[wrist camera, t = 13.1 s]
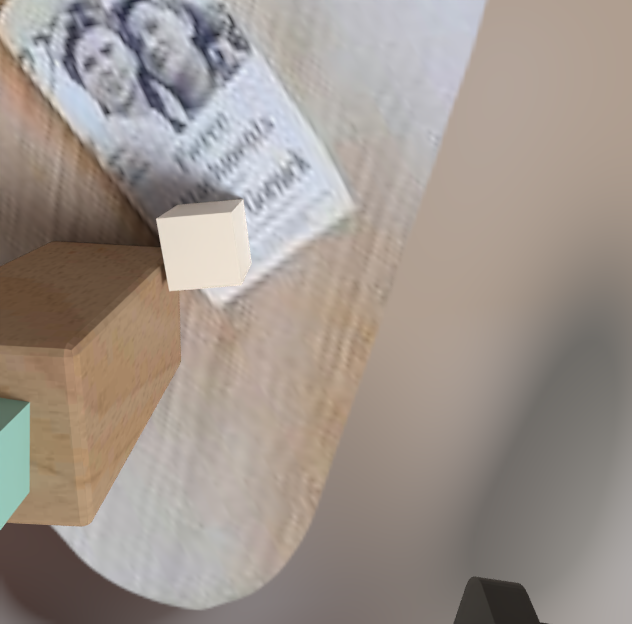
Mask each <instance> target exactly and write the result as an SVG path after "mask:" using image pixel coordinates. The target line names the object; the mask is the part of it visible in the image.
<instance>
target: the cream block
mask: <svg viewBox="0 0 632 624" xmlns="http://www.w3.org/2000/svg"><path fill="white" fill-rule="evenodd" d="M156 221H157V227H158V232H159V238H160V243H161V249H162V254H163V260H164V265H165V271H166V276H167V282H168V287H169V291H178V290H190V289H202V288H214V287H226V286H238V285H242V283H243V281H244V279H245V277H246V274H247V272H248V270H249V268H250V266H251V264H252V262H251V254H250V247H249V239H248V231H247V224H246V216H245V208H244V201H243V199H237V200H226V201H214V202H203V203H192V204H181V205H176V206H175V207H173V208H172V209H170V210H169V211H167V212H166V213H164V214H163V215H161V216H159V217H158V218H156Z"/></svg>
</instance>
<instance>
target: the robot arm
mask: <svg viewBox="0 0 632 624" xmlns="http://www.w3.org/2000/svg"><path fill="white" fill-rule="evenodd" d="M454 624H547V623H540V622H539V619H538V617H537V615H536V612H535V610H534V608H533V605H532V603H531V601H530V598H529V596H528V594H527V592H526V590H525V588H524V587H523V586H522V585H521V584H519V583H515V582H508V581H501V580H495V579H488V578H481V577H471V578H470V579H469V581H468V583H467V585H466V588H465V591H464V594H463V597H462V600H461V603H460V606H459V609H458V612H457V615H456V618H455V621H454Z"/></svg>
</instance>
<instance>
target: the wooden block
mask: <svg viewBox="0 0 632 624" xmlns="http://www.w3.org/2000/svg"><path fill="white" fill-rule="evenodd" d="M180 362H181V346H180V306H179V290H178V291H169V287H168V282H167V276H166V271H165V265H164V260H163V254H162V249H161V247H147V246H129V245H111V244H93V243H76V242H58V241H53V242H50V243H48V244H46V245H44V246H42V247H40V248H38V249H35V250H33V251H31V252H29V253H27V254H25V255H23V256H21V257H19V258H17V259H15V260H13V261H11V262H9V263H6V264H4V265H2V266H0V398H6V399H12V400H19V401H25V402H30V487H29V493H28V495H27V496H26V497H25V499H24V500H23V501H22V502H21V504H20V505H19V506H18V508H17V509H16V510H15V512H14V513H13V514H12V515H11V517H10V518H9V519H8V521H7V522H6V523H24V524H45V525H63V526H86V525H88V524H90V523H91V522H92V520H93V519H94V517H95V515H96V513H97V511H98V510H99V508H100V506H101V504H102V503H103V501H104V499H105V497H106V495H107V494H108V492H109V490H110V488H111V486H112V485H113V483H114V481H115V479H116V478H117V476H118V474H119V472H120V470H121V469H122V467H123V465H124V463H125V461H126V460H127V458H128V456H129V454H130V452H131V451H132V449H133V447H134V445H135V444H136V442H137V440H138V438H139V436H140V435H141V433H142V431H143V429H144V427H145V426H146V424H147V422H148V420H149V419H150V417H151V415H152V413H153V411H154V410H155V408H156V406H157V404H158V402H159V401H160V399H161V397H162V395H163V393H164V392H165V390H166V388H167V386H168V385H169V383H170V381H171V379H172V377H173V376H174V374H175V372H176V370H177V368H178V367H179V365H180Z"/></svg>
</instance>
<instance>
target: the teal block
mask: <svg viewBox="0 0 632 624" xmlns="http://www.w3.org/2000/svg"><path fill="white" fill-rule="evenodd" d="M29 487H30V402H25V401H19V400H12V399H6V398H0V530H1V528H2V527H3V526H4V525H5V523H6V522H7V521H8V519H9V518H10V517H11V515H12V514H13V513H14V512H15V510H16V509H17V508H18V506H19V505H20V504H21V502H22V501H23V500H24V499H25V497H26V496H27V495H28V493H29Z"/></svg>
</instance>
